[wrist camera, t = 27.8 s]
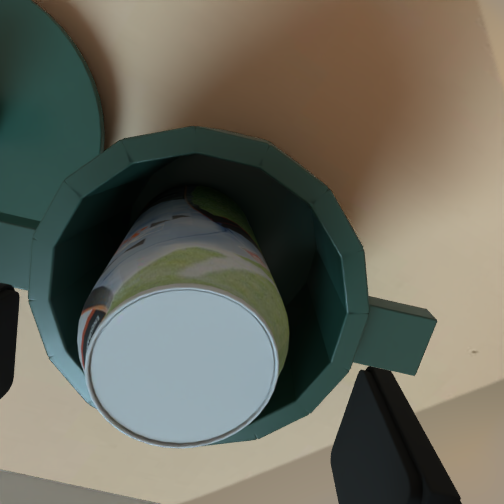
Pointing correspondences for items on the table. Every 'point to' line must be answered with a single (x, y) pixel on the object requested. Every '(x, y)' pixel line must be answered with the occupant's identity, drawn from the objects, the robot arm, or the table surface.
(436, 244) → the table surface
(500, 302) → the table surface
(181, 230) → the beverage can
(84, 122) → the lid
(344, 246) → the pot
